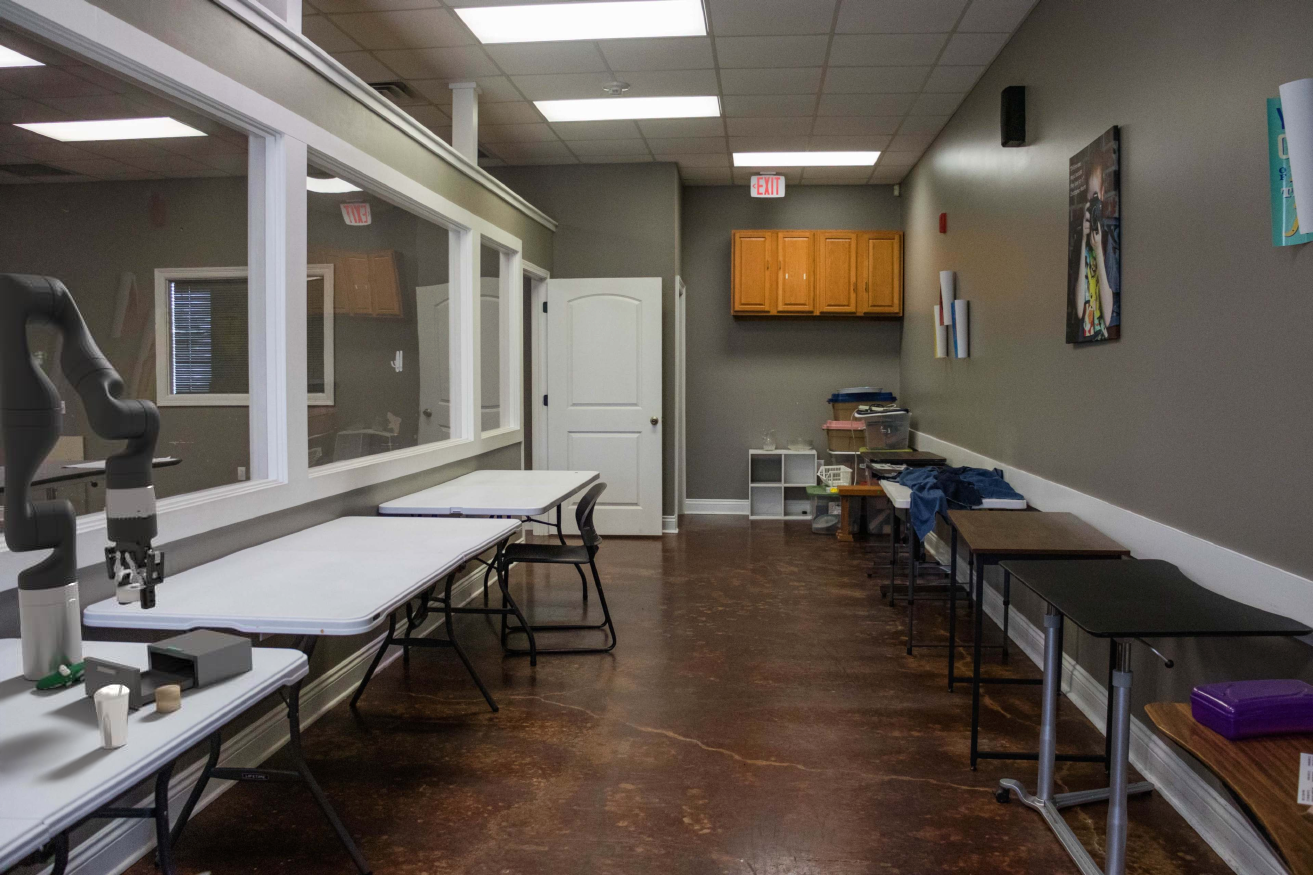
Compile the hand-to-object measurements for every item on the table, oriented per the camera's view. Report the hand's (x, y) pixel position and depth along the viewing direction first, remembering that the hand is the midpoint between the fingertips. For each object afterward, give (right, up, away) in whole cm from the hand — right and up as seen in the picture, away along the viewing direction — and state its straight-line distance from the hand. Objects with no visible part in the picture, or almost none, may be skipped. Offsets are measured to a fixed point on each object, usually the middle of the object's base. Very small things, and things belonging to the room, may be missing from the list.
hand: (137, 605), depth 149 cm
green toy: (-17, -16, +7) cm, 24 cm away
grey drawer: (0, -16, +1) cm, 16 cm away
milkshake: (+9, -18, -20) cm, 28 cm away
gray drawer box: (+5, -15, +11) cm, 19 cm away
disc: (0, +1, 0) cm, 1 cm away
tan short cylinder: (+9, -16, -6) cm, 20 cm away
